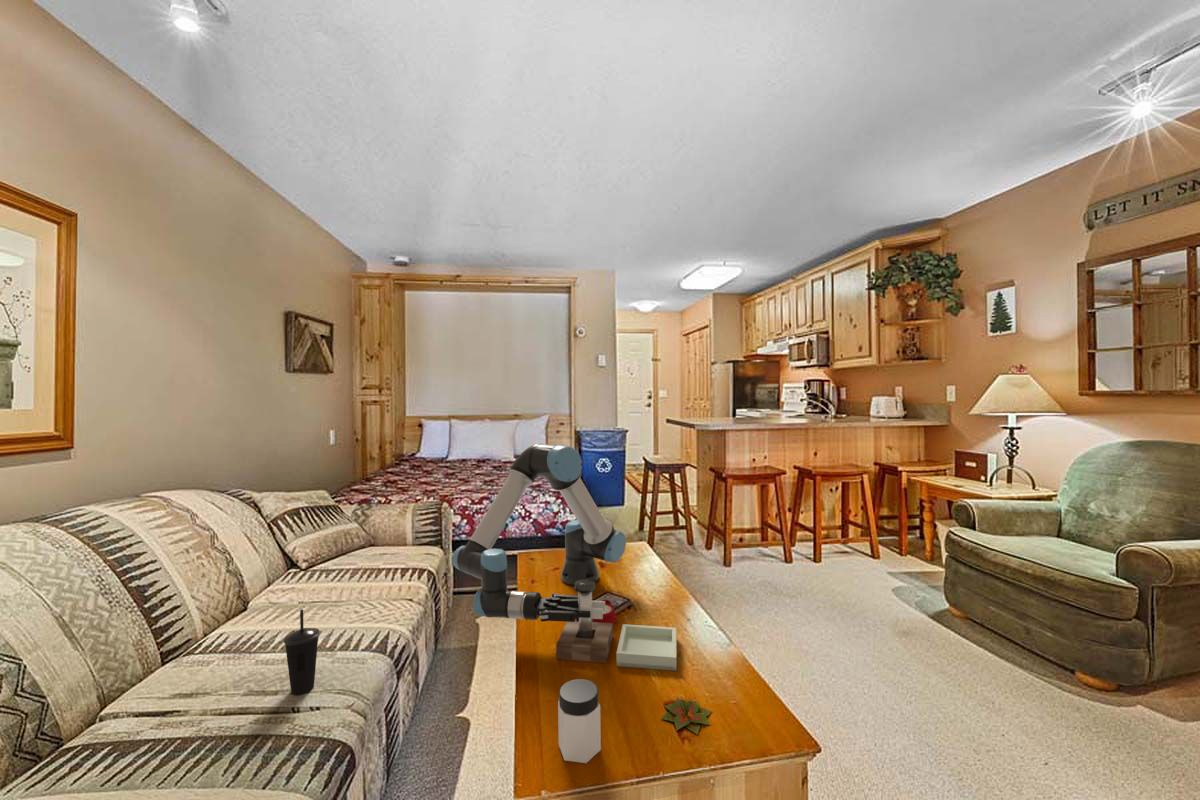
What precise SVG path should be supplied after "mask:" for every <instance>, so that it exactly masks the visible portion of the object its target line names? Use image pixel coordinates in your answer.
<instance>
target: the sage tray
mask: <svg viewBox="0 0 1200 800" xmlns="http://www.w3.org/2000/svg"><path fill="white" fill-rule="evenodd" d="M615 657H616V667H625V668H628V667H629V668H639V669H647V670H648V669H649V670H660V671H661V670H662V671H674V672H675V671H676V672H677V669H678V668H677V667H678V666H677V664H678V663H677V627H671V626H669V627H668V626H655V625H641V624H640V625H638V624H627V623H626V624H625V623H623V624H622V627H621V631H620V636H619V640H618V645H617V649H616V656H615Z"/></svg>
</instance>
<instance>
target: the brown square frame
mask: <svg viewBox="0 0 1200 800" xmlns="http://www.w3.org/2000/svg"><path fill="white" fill-rule="evenodd" d="M613 628H614V624H613V623H599V622H592V633H593V639H588V638H579V621H578V622H576V621H575V622H566V624H565V625H564V627H563V630H562V631H561V634H560V636H559V637H558V640H557V642H556V643H555V644H556V647H555V651H556V653H555V655H556V656H555V657H556V659H557V660H564V661H565V660H567V661H575V662H576V661H577V662H579V661H580V662H591V663H604V664H606V663H607V662H606V661H608V658H607V657H609V654H610V649H611V646H612V643H613V642H612V641H613V637H614V629H613Z"/></svg>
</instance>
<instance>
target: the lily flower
mask: <svg viewBox="0 0 1200 800" xmlns="http://www.w3.org/2000/svg"><path fill="white" fill-rule="evenodd" d="M683 696H684V697H682V696H680V697H679V696H677V697H676V698H675V701H674V703H673V702H672V703H669V704H667V705H664V707H665V708H666V709H667V710H668V712H667V711H666V713H664V714H663V715H662V717H660V719H661V720H666V721H670V722H673V723H674V726H675V730H676V731H675V732H677V731H679V730H681V728H683V727H685V728H687V729H688V730H689V731H691V732H692V733H694V734H696V736H698V734H699V732H700V731H699V730H700V728H701V724H704V725H708V726H712V724H711V723H710V721H709V720H708V718H707V717H708V716H709V715H710V714H711V713H713V710H709V709H707V708H705V707H700V705H699V702H698V701H695V699H696V698H697V697H693V700H691V698H690V696H688V698H687V701H686V699H685V697H686V696H685V694H683ZM689 698H690V699H689ZM682 714H684V716H685V717H689V716H688V715H689V714H690V715H691V717H692V718H688V719H684V717H683V715H682ZM691 722H692V723H694V724H693V726H691V725H690V723H691Z"/></svg>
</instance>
